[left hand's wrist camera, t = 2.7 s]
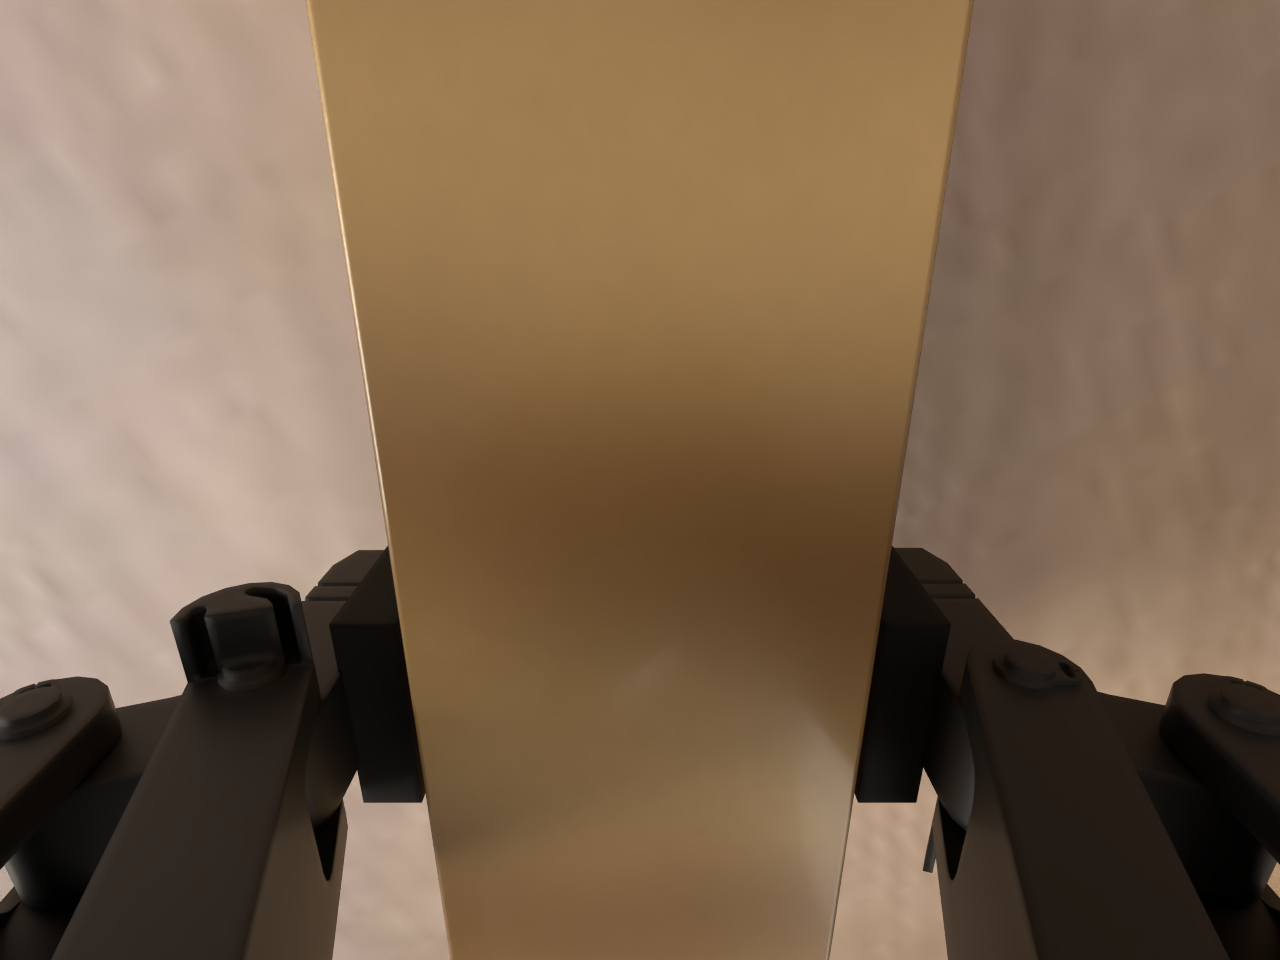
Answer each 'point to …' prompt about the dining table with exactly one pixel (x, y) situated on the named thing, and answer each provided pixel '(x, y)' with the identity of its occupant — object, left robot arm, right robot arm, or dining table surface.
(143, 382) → the dining table surface
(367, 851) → the dining table surface
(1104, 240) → the dining table surface
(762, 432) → the plank
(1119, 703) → the left robot arm
